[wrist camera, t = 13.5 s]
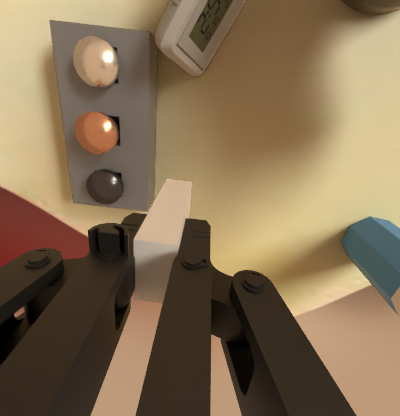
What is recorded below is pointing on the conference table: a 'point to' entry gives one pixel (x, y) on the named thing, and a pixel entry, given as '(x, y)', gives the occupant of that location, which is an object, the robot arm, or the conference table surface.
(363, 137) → the conference table surface
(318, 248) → the conference table surface
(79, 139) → the plunger terracotta
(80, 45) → the plunger ivory
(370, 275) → the water bottle
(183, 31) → the digital clock
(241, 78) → the conference table surface
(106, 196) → the plunger black
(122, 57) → the panel
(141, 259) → the robot arm
